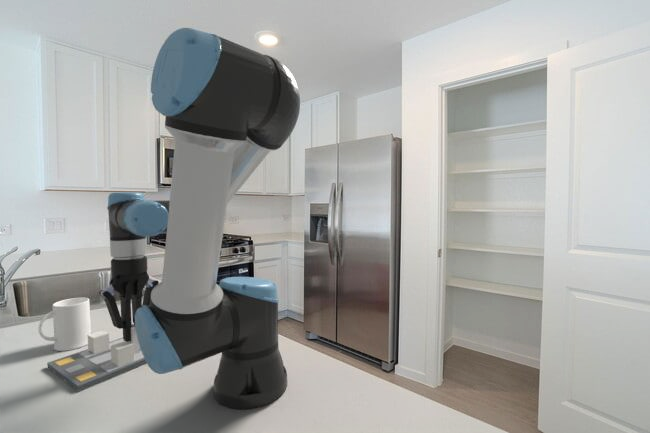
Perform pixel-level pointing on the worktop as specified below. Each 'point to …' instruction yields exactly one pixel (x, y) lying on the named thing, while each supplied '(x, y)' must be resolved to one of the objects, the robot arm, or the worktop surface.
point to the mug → (69, 324)
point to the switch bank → (92, 367)
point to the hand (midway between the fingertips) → (133, 352)
